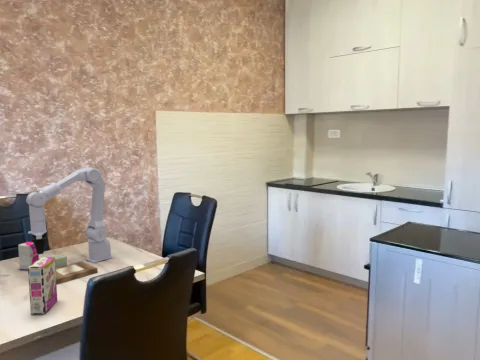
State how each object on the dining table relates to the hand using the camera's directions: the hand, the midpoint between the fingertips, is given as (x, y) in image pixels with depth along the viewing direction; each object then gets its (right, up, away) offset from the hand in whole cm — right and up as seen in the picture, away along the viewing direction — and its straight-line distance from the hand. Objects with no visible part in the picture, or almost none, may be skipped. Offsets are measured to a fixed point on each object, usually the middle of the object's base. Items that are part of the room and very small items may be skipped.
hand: (40, 251), depth 168 cm
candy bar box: (+18, -14, -32) cm, 39 cm away
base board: (+13, -10, -1) cm, 16 cm away
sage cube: (+4, -9, +8) cm, 13 cm away
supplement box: (-9, -9, +8) cm, 15 cm away
